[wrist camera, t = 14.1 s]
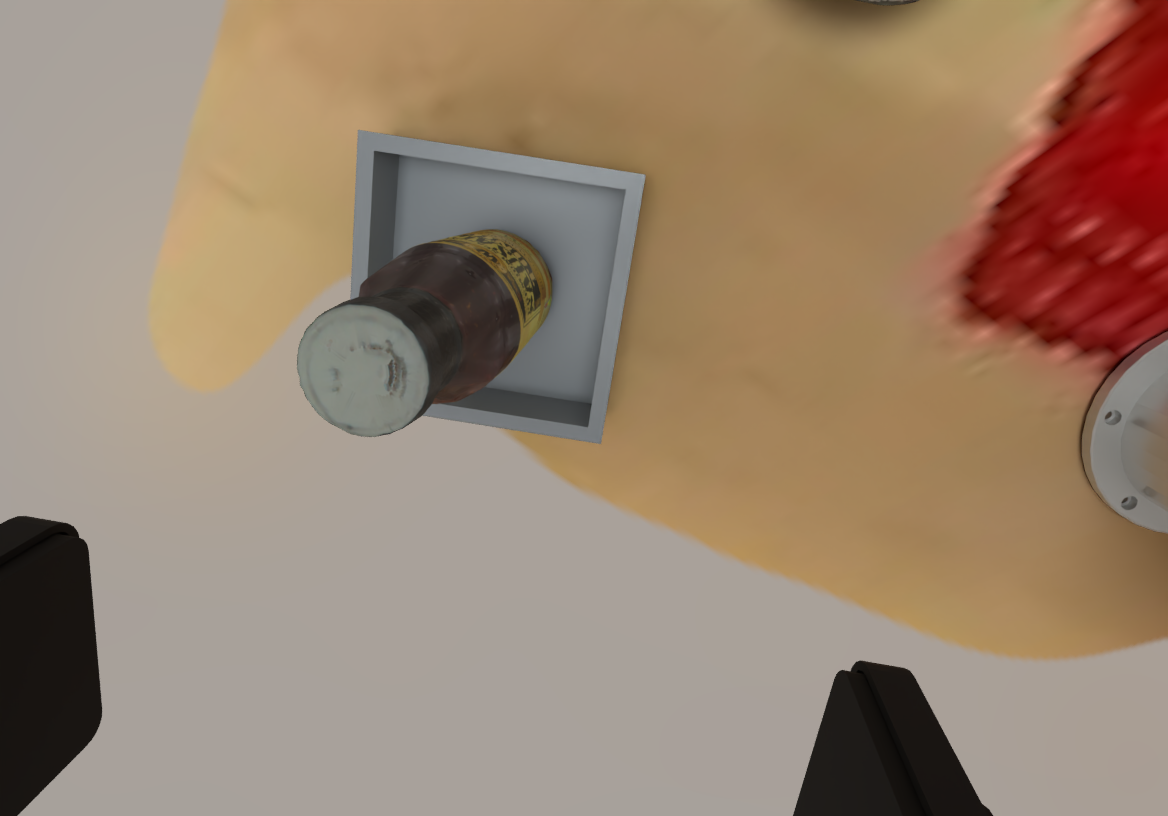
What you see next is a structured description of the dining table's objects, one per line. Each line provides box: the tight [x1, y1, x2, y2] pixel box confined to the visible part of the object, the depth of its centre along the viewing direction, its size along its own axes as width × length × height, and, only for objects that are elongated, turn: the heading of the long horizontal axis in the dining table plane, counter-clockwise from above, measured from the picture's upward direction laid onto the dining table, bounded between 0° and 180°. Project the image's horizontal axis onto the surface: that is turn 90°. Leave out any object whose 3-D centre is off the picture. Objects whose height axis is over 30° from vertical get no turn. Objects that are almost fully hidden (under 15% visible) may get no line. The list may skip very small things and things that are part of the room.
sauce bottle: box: [297, 229, 552, 437], centre depth 30 cm, size 7×6×20 cm
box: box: [350, 130, 645, 444], centre depth 38 cm, size 14×14×5 cm
